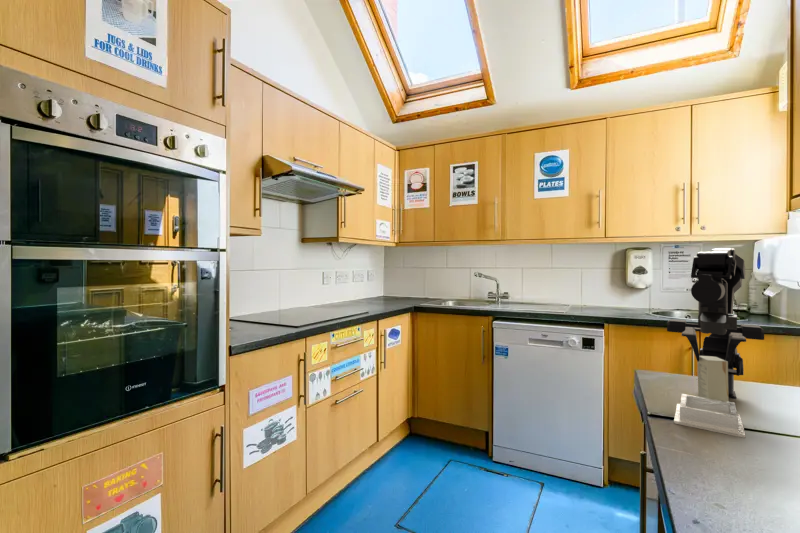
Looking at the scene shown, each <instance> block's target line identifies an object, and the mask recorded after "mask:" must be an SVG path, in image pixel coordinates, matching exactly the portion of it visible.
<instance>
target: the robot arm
mask: <svg viewBox="0 0 800 533" xmlns="http://www.w3.org/2000/svg"><path fill="white" fill-rule="evenodd" d="M692 259H693V260H692V268H691V273H690V278H691V279H698V280H697V281H695V282H694V283H693V285H691V288H690V292H691V296H692V298H694V300H695V301H697V302H698V311H697V312H698V313H697V314H698V316H697V323H689V322H688V323H687V320H685V319H676V318H675V319H674V318H673V319H672V318H670V319H669V320H668V321H667V323H666V331H667V332H668V333H669V332H670V333H680V334H681V337H685V338H687V340H688V341H689V344H690V345H691V348H692V351H693V353H694V356H695V358H696V361H698V362H699V356H713V357H718V358H721V359H723V360H725V361H728V398H731V399H737V395H736V391H735V388H734V382H735V380H734V379H735V377H734V376H737V377H740V376H744V375H745V374H744V360H743V358H742V357H741V353H740V352H738V346H739V345H740V344H741V343H743V342H744V343H746V342H747V339H748V340H758V341H764V340H765V330H764V328H762V327H761V326H760V325H756V324H755V325H754V324H744V323H743V324H741V323H740V327H739V326H738V315H737V314H733V313H734V312H733V311H734V300H735V299H734V298H735V294H736V292H738V290H739V289H740V288H742V285H743V280H745V279H746V266H745V260H744V259H743V258H742V257H740V256H739V255H737V254H736V250H735V248H732V247H717V248H712V249H711V251H699V252H697V254H696V255H694V256H693V258H692ZM697 332H700V333H702V334H709V335H708V336H705V337H704V338H703V341H702V342H703V344H702V348H700V349H699V344H698V337H697ZM698 362H697V363H698Z"/></svg>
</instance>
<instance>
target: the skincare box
mask: <svg viewBox="0 0 800 533" xmlns="http://www.w3.org/2000/svg"><path fill="white" fill-rule="evenodd" d="M696 361H697V360H696ZM696 363H697V396H699V397H705V398H711V399H717V400H723V401H729V397H728V361H725V360H723V359H721V358H718V357H713V356H699V362H698V361H697V362H696ZM729 402H730V401H729Z"/></svg>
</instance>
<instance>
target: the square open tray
mask: <svg viewBox="0 0 800 533" xmlns="http://www.w3.org/2000/svg"><path fill="white" fill-rule="evenodd" d="M675 408H676V409H675V414H674V419H673V423H674V425H675V424H676V425H680V426H686V427H689V428H694V429H700V430H705V431H709V432H714V433H718V434H724V435H729V436H733V437H738V438H743V439H744V438H746V433H745V428H744V426H743V420H742V418H741V414H738V411H737V406H736V403H735V402H734V401H723V400H717V399H711V398H705V397H699V396H698V395H691V394H686V393H681V396H680V403H676V407H675Z"/></svg>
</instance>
